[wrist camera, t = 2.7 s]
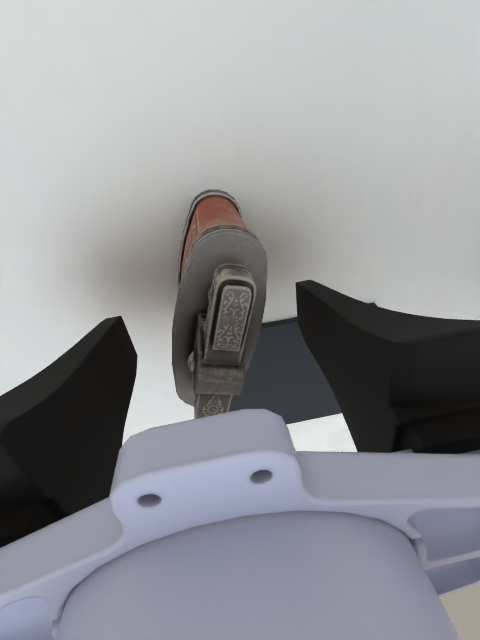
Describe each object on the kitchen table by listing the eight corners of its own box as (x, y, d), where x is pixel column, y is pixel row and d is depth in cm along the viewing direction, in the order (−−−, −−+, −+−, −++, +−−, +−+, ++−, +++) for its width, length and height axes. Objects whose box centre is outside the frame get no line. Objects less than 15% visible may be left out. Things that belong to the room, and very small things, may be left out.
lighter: (225, 323, 21) (249, 458, 12) (173, 318, 20) (160, 458, 12) (249, 195, 17) (309, 266, 8) (185, 184, 16) (179, 248, 8)
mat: (374, 302, 22) (377, 306, 21) (363, 403, 27) (366, 408, 26) (200, 336, 21) (200, 340, 21) (225, 432, 26) (226, 436, 26)
